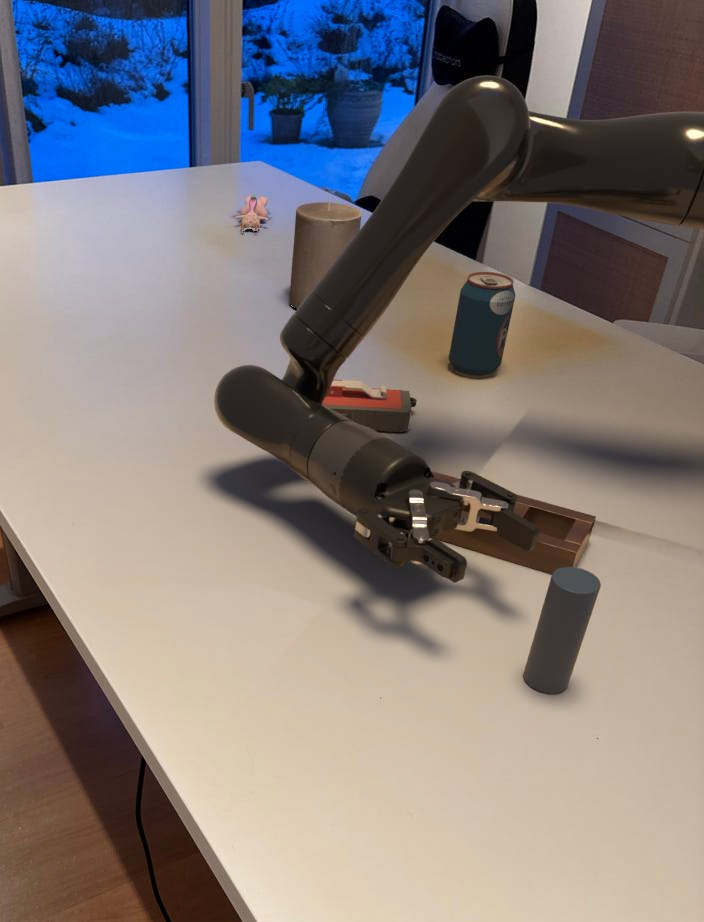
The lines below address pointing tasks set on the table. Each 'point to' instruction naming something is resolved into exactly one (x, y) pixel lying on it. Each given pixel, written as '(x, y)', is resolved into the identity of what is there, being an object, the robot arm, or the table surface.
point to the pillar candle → (319, 243)
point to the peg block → (556, 540)
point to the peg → (561, 629)
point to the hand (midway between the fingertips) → (499, 556)
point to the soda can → (481, 324)
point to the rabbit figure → (253, 212)
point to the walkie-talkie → (371, 405)
